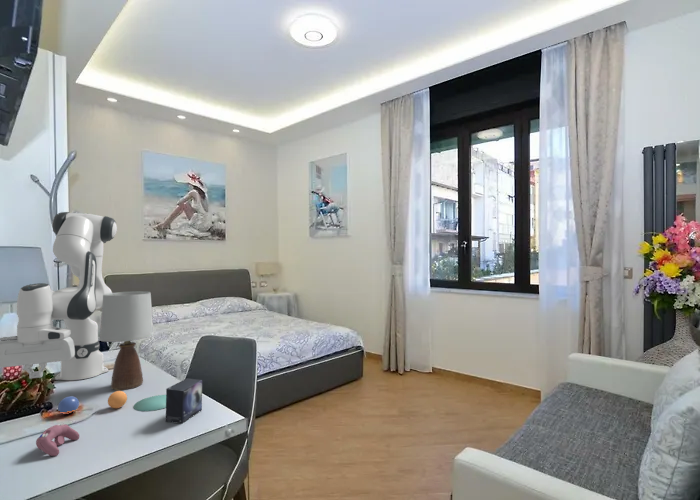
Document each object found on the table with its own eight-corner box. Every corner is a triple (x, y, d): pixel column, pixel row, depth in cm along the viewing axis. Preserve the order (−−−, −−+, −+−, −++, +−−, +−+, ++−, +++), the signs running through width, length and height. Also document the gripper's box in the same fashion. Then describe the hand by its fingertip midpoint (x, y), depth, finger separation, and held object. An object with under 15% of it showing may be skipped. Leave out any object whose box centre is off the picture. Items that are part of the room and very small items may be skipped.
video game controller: (67, 444, 105) (55, 423, 105) (82, 436, 106) (70, 415, 106) (41, 464, 96) (28, 440, 95) (58, 455, 96) (45, 431, 96)
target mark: (131, 401, 133) (131, 400, 133) (174, 392, 141) (174, 392, 141) (135, 414, 121) (135, 414, 121) (181, 404, 129) (181, 404, 129)
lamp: (87, 390, 143) (88, 295, 144) (131, 375, 161) (131, 290, 161) (122, 396, 137) (123, 296, 137) (163, 380, 154) (164, 291, 155)
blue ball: (58, 413, 123) (58, 396, 123) (79, 409, 126) (79, 392, 126) (57, 419, 118) (57, 401, 118) (78, 414, 121) (78, 397, 121)
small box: (183, 424, 114) (183, 390, 114) (164, 422, 116) (164, 388, 116) (203, 410, 125) (203, 379, 125) (186, 408, 126) (186, 377, 126)
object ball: (107, 407, 128) (107, 390, 128) (126, 403, 131) (126, 387, 131) (108, 412, 123) (108, 395, 123) (127, 408, 126) (127, 392, 126)
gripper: (-12, 339, 113) (-11, 385, 112) (69, 332, 120) (70, 375, 120) (-1, 335, 118) (0, 379, 118) (76, 329, 126) (76, 370, 126)
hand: (36, 377), depth 119 cm, fingers closed
